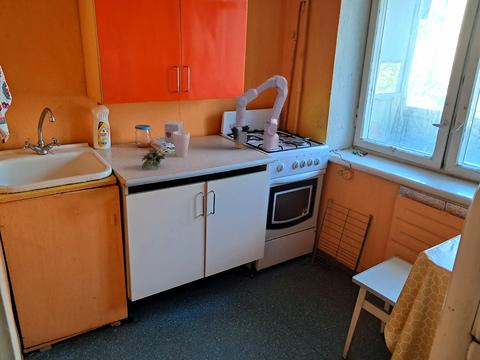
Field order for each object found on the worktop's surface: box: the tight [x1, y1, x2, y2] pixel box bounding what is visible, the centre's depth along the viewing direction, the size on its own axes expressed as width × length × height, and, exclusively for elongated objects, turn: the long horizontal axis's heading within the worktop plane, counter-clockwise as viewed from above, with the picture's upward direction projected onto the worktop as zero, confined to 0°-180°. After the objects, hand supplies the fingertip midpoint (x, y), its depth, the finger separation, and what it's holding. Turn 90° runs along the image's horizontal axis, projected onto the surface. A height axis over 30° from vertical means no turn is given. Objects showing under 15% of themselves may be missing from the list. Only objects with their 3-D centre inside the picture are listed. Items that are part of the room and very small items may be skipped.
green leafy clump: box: [141, 148, 166, 170], centre depth 192 cm, size 11×11×12 cm
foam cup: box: [173, 130, 191, 158], centre depth 213 cm, size 10×9×13 cm
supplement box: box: [164, 120, 185, 144], centre depth 229 cm, size 9×9×15 cm
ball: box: [234, 142, 244, 150], centre depth 233 cm, size 5×5×5 cm
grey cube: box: [232, 130, 248, 144], centre depth 231 cm, size 6×6×6 cm
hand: (239, 138), depth 232 cm, fingers closed on grey cube, 6 cm apart
